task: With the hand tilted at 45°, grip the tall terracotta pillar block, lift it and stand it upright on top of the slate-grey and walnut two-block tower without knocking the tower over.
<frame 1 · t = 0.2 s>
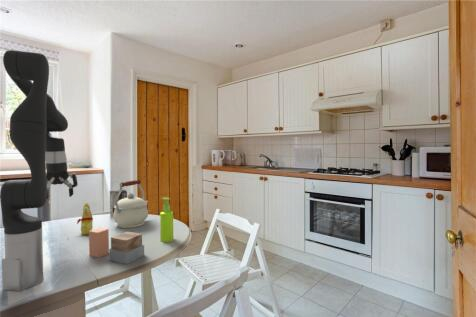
hand: (59, 197, 114), 21 cm above the table, tool pointing down, fingers open, 8 cm apart
kettle: (133, 223, 148), on the table
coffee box: (118, 215, 165), on the table
tower top: (126, 246, 101), point 4 cm above the table, touching tower base
tower base: (127, 258, 102), on the table, touching tower top
chocolate bunny: (85, 232, 132), on the table
soap dispenser: (166, 240, 121), on the table
pillar: (99, 254, 105), on the table
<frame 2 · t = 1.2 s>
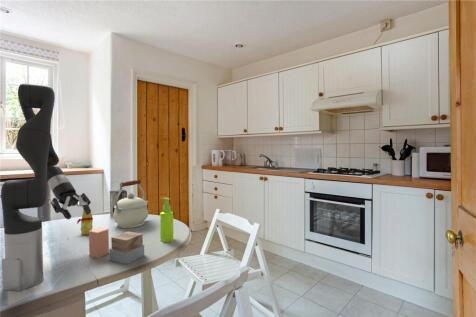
hand: (79, 215, 109), 15 cm above the table, tool tilted 45°, fingers open, 8 cm apart
nothing on the table moved.
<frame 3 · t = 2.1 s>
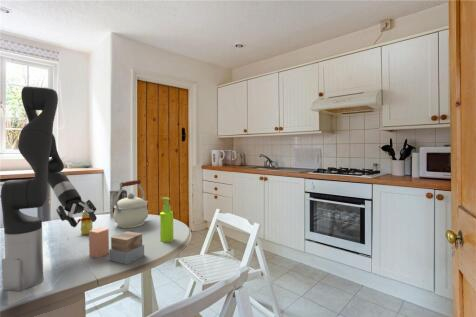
hand: (85, 223, 107), 12 cm above the table, tool tilted 45°, fingers open, 8 cm apart
nothing on the table moved.
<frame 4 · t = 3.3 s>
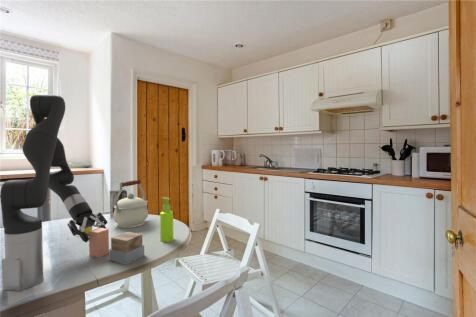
hand: (97, 237, 105), 7 cm above the table, tool tilted 45°, fingers open, 8 cm apart
nothing on the table moved.
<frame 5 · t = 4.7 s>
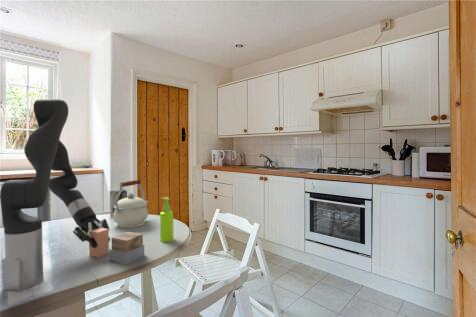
hand: (102, 244, 104), 4 cm above the table, tool tilted 45°, fingers closed on pillar, 5 cm apart
tower top: (127, 247, 101), point 4 cm above the table
tower base: (127, 258, 101), on the table
pillar: (99, 254, 105), on the table, touching gripper
everything else where it was.
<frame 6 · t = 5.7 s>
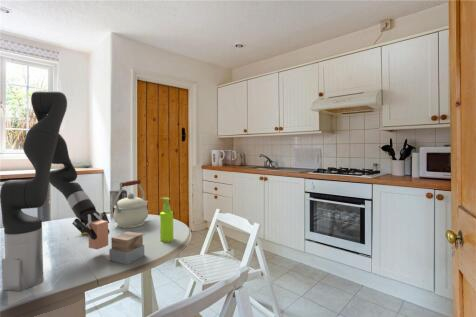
hand: (101, 236, 103), 8 cm above the table, tool tilted 45°, fingers closed on pillar, 5 cm apart
tower top: (127, 246, 101), point 4 cm above the table, touching tower base
tower base: (127, 258, 101), on the table, touching tower top
pillar: (98, 246, 104), point 3 cm above the table, touching gripper
everything else where it was.
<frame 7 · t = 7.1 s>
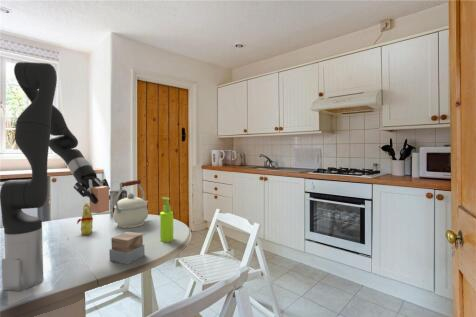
hand: (102, 201, 104), 22 cm above the table, tool tilted 45°, fingers closed on pillar, 5 cm apart
pillar: (99, 211, 105), point 17 cm above the table, touching gripper
everything else where it was.
when the fingers open (15 cm above the table, at t = 10.6 s): pillar drops 2 cm, resting on tower top.
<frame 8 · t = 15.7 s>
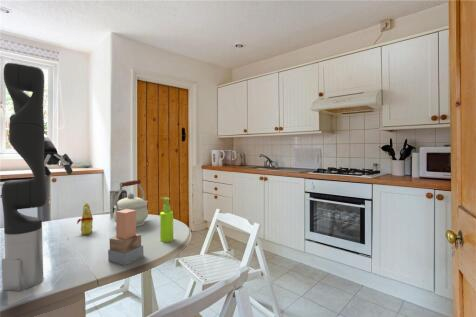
hand: (60, 174, 105), 33 cm above the table, tool tilted 45°, fingers open, 8 cm apart
tower top: (125, 247, 101), point 4 cm above the table, touching pillar, tower base
pillar: (126, 236, 101), point 9 cm above the table, touching tower top
everything else where it was.
at the end: pillar 0.2 cm off-centre on the tower top, point 4.5 cm above the tower top's base; pillar tilted 1°; tower top 0.1 cm off-centre on the tower base, point 4.5 cm above the tower base's base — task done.
